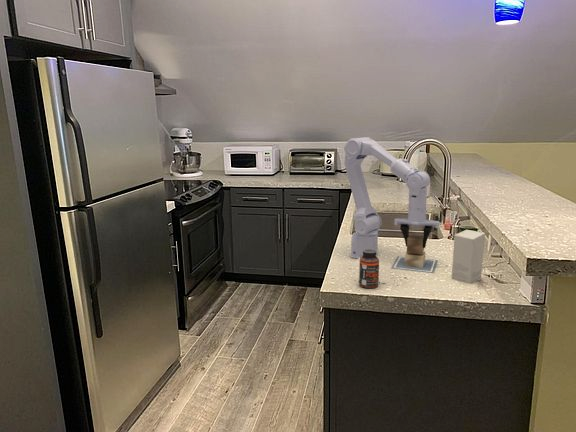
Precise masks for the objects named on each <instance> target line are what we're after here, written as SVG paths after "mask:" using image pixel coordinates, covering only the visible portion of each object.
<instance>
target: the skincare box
mask: <svg viewBox="0 0 576 432" xmlns="http://www.w3.org/2000/svg"><path fill="white" fill-rule="evenodd" d="M485 237H486V233H485V232H483V231H482V232H481V231H477V230H470V229H465V230H463V231H460V232H458V233H456V234H454V238H453V239H454V241H453V251H452V267H451V280H455V281H459V282H463V283H466V284H472V283H475V282H479V281H480V280H482V275H483V274H482V271H483V261H484V260H483V259H484V250H485V249H484V248H485V239H486V238H485Z"/></svg>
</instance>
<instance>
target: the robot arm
mask: <svg viewBox="0 0 576 432" xmlns="http://www.w3.org/2000/svg"><path fill="white" fill-rule="evenodd" d="M377 142H378V141H376V140H373V139H372V138H371V137H369V136H364V137H352V138H350V139H348V141H347V142H346V143H345V145H344V146H343V148H344V152H345V154H344V155H345V156H344V168H345V171H346V175H347V179H348V182H349V186H350V189H351V193H352V197H353V200H354V204H355V209H356V211H355V213H354V215H353V218H354V223H353V224H354V225H353V227H354V230H355V232H353V233H352V235H351V241H350V242H351V245H350V249H351V250H350V259H351V258H352V259H360V258H361V257H362V256H363V250H366V249H372V250H375V251H376V257H378V243H379V241H378V238H379V229H380V228H381V226H382V218H381V217H380V216H379V214H378V212H377V209H376V208H374V207H373V206H372V204H371V203H372V202H371V200H370V199H371V198H370V197H369V193H368V189H367V185H366V181H365V177H364V173H363V170H362V163H363V161H364V160H365V159H366V158H367V157H368V156H372V157H374V158H376V159H378V160H379V161H380V162H381V163H383V164H385V165H387V166H388V167H390V172H391V173H392V174H393V175H395V176H396V177H397V178H399V179H400V180H402V181H403V182H405V184H406V187H407V188H408V206H407V207H408V208H407V209H408V210H407V212H408V213H407V218H403V217H401V218H396V217H395V218H394V220H393V221H394V226H399V225H400V227H399V229H400V231H401V233H402V236H403V238H404V243H405V247H407V238H408V237H409V235H410V227H412V226H413V227H424V228H423V236H424V240H423V248H424V249H426V246H427V241H428V238H429V236H430V234H431V232H432V230H433V228H435V229H439V228H440V221H438V220H431V219H427V218H426V217H427V214H426V213H427V199H428V197H427V186H428V185H429V183H430V184H431V177H430V175H429V173H428V172H427V171H426V170H419V168H418V167H415V166H413V164H411V163H409V162H408V161H409V160H408V159H406V158H396V157H394V155H392V154H391V153H390V152H388V151H387V150H386V149H384V148H383V147H382V146H381V145H380V144H379V143H377Z"/></svg>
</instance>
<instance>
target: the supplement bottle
mask: <svg viewBox="0 0 576 432" xmlns="http://www.w3.org/2000/svg"><path fill="white" fill-rule="evenodd" d="M358 273H359V276H358V281H359V282H358V284H359V286H360V287H362V288H364V289H375V288H377V287H378V285H379V277H380V275H379V274H380V259H379V258H378V256H376V251H375V250H372V249H366V250H363V256H360V257H359V271H358Z"/></svg>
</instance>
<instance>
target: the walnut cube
mask: <svg viewBox="0 0 576 432" xmlns="http://www.w3.org/2000/svg"><path fill="white" fill-rule="evenodd" d="M423 240H424V235H415V234H409V237H408V238H407V246H406V252H407V253H413V254H422V253H423V251H424V250H425V248H423Z"/></svg>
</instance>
